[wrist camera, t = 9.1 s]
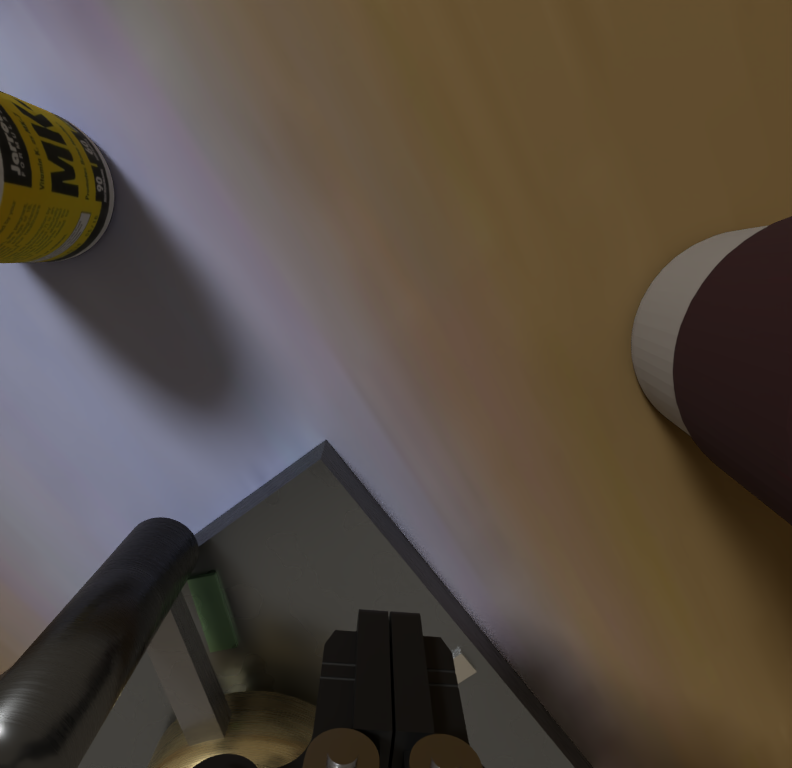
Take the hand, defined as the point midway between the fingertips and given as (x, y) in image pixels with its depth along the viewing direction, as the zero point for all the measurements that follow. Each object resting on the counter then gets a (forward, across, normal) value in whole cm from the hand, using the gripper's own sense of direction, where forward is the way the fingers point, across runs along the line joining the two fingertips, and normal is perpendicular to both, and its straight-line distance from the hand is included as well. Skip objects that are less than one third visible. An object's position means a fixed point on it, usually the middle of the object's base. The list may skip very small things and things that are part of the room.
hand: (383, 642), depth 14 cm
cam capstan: (+6, +5, +7) cm, 11 cm away
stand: (+8, +3, +12) cm, 15 cm away
